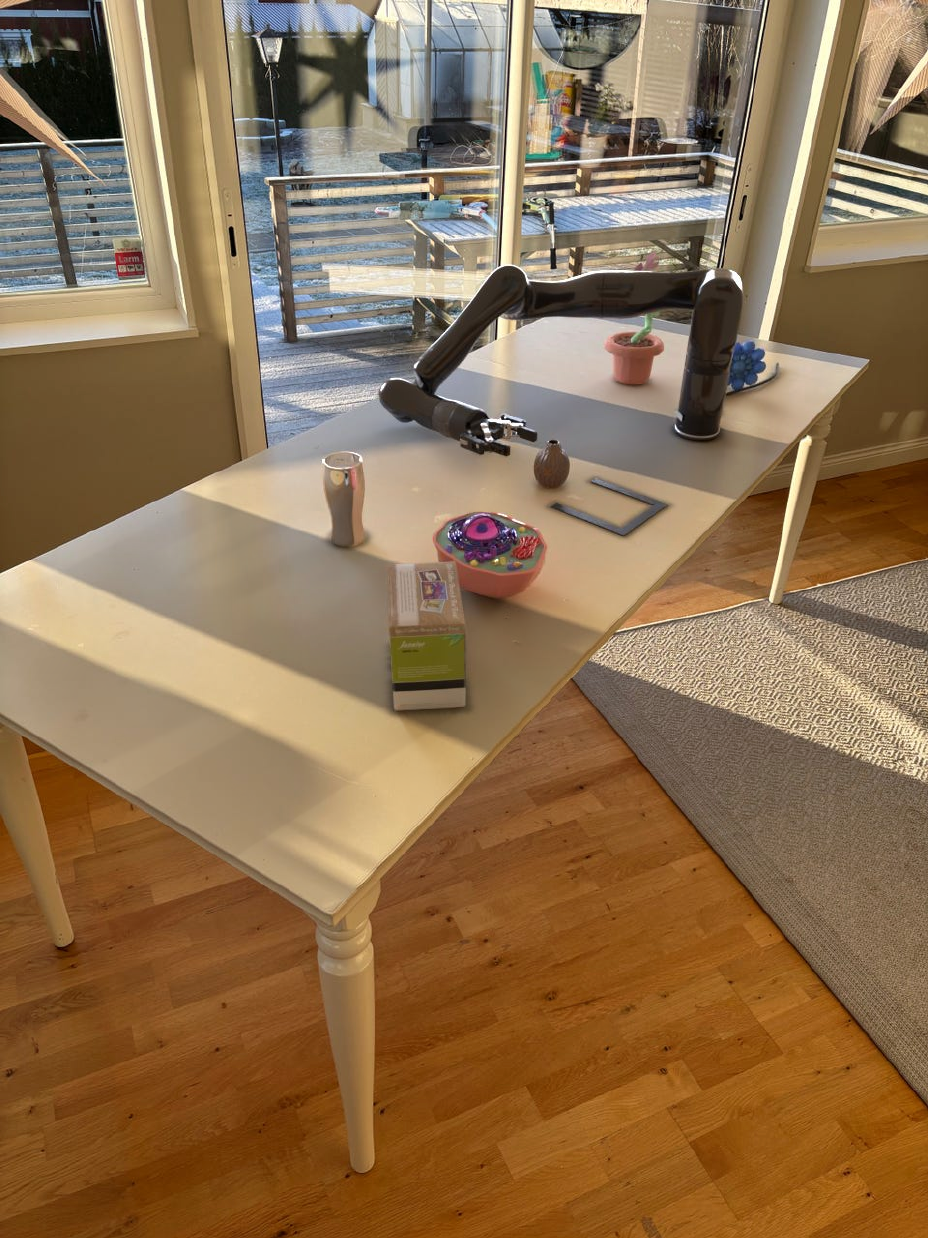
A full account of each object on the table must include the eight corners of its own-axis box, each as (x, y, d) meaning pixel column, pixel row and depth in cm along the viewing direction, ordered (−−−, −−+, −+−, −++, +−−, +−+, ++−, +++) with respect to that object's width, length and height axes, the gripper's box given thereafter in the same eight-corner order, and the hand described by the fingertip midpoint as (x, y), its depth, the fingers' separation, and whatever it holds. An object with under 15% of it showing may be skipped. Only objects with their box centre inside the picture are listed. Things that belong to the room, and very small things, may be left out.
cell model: (472, 631, 140) (474, 568, 134) (416, 567, 154) (415, 507, 148) (567, 602, 147) (573, 541, 140) (505, 544, 161) (507, 485, 154)
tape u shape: (595, 478, 181) (596, 478, 181) (667, 505, 173) (667, 504, 173) (550, 507, 172) (550, 506, 172) (623, 536, 163) (624, 535, 163)
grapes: (763, 388, 220) (774, 338, 212) (758, 398, 215) (768, 347, 208) (714, 379, 223) (723, 330, 216) (708, 389, 219) (716, 339, 211)
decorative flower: (620, 363, 232) (634, 237, 214) (671, 375, 225) (689, 246, 208) (591, 381, 222) (603, 250, 204) (643, 394, 216) (660, 261, 198)
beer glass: (374, 531, 164) (370, 454, 155) (358, 551, 158) (352, 472, 150) (338, 525, 166) (332, 448, 157) (321, 544, 160) (313, 465, 152)
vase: (566, 493, 176) (569, 451, 171) (530, 490, 177) (532, 447, 172) (570, 477, 181) (573, 435, 176) (535, 473, 183) (537, 432, 177)
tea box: (390, 645, 137) (386, 560, 129) (458, 642, 138) (458, 558, 129) (392, 713, 125) (388, 624, 116) (466, 709, 126) (468, 621, 117)
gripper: (435, 414, 181) (500, 438, 173) (482, 393, 190) (546, 414, 182) (436, 450, 186) (499, 474, 177) (481, 427, 195) (543, 449, 186)
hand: (522, 444), depth 179 cm, fingers open, 8 cm apart
